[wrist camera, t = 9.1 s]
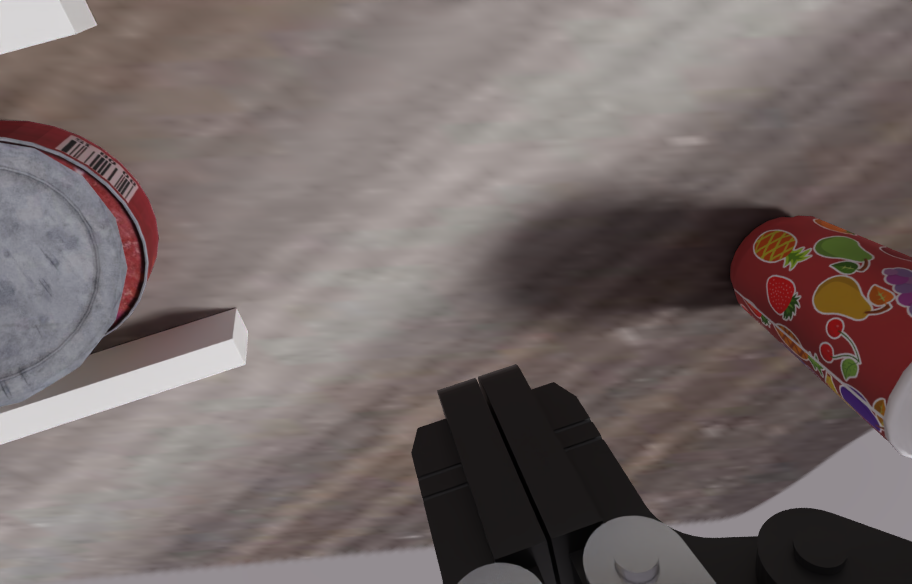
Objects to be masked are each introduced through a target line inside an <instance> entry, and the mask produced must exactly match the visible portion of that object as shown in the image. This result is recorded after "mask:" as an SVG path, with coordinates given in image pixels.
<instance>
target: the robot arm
mask: <svg viewBox="0 0 912 584" xmlns="http://www.w3.org/2000/svg"><path fill="white" fill-rule="evenodd" d="M478 381H479V384H478V382H477V380H476V378H474V379H471V380H468V381H464V382H461V383H458V384H455V385H452V386H449V387H446V388H443V389H440V390H437V392H438V395H439V399H440V402H441V405H442V408H443V412H444V415H445V418H446V419H443V420H440V421H437V422H434V423H432V424H429V425H426V426H423V427H420V428H418V429H417V433H416V437H415V441H414V445H413V449H412V452H411V453H412V457H413V462H414V466H415V470H416V474H417V478H418V481H419V486H420V490H421V494H422V498H423V501H424V506H425V510H426V514H427V518H428V523H429V527H430V531H431V535H432V539H433V543H434V547H435V551H436V555H437V559H438V563H439V567H440V571H441V575H442V580H443V584H912V542H911V541H909V540H906V539H902V538H900V537H897V536H895V535H892V534H889V533H886V532H883V531H881V530H878V529H875V528H872V527H869V526H866V525H864V524H861V523H858V522H855V521H852V520H850V519H847V518H844V517H841V516H839V515H836V514H833V513H830V512H826V511H823V510H818V509H812V508H795V509H789V510H785V511H782V512H779V513H777V514H775V515H774V516H772V517H771V518H769V519H768V520H767V521H766V522H765V523H764V524H763V526H762V528H761V529H760V531H759V535H758V536H757V537H729V538H703V537H696V536H691V535H688V534H684V533H681V532H679V531H677V530H674V529H672V528H670V527H669V526H667V525H665V524H664V523H662V522H661V521H660V520H658V519H657V518H656V517H655V516H654V515H653V514H652V513H651V512H650V511H649V509H648V508H647V507H646V505H645V504H644V502H643V501H642V499H641V497H640V496H639V494H638V493H637V491H636V490H635V488H634V486H633V485H632V483H631V482H630V480H629V479H628V477H627V475H626V474H625V472H624V471H623V469H622V468H621V466H620V464H619V463H618V461H617V460H616V458H615V457H614V455H613V453H612V452H611V450H610V449H609V447H608V446H607V444H606V442H605V441H604V440H602V437H601V435H600V433H599V431H598V430H597V428H596V427H595V425H594V424H593V422H591V420H590V417H589V416H588V414H587V413H586V411H585V409H584V408H583V406H582V405H581V403H580V402H579V400H578V398H577V397H576V396H575V395H573V394H571V393H570V392H568V391H567V390H565V389H564V388H562V387H561V386H559V385H557V384H556V383H554V382H553V383H550V384H547V385H544V386H541V387H538V388H535V389H532V390H531V388H530V387H529V385H528V383H527V381H526V379H525V377H524V376H523V374H522V372H521V370H520V368H519V367H518V365H516V364H515V365H512V366H509V367H506V368H503V369H500V370H497V371H494V372H491V373H488V374H485V375H482V376H479V377H478ZM479 385H480V386H479Z"/></svg>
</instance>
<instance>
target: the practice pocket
mask: <svg viewBox="0 0 912 584" xmlns="http://www.w3.org/2000/svg"><path fill="white" fill-rule="evenodd" d="M96 25H97V24H96V21H95V19H94V17H93V15H92V13H91V11H90V9H89V7H88V5H87V3H86V1H85V0H0V54H4V53H7V52H11V51H15V50H19V49H22V48H26V47H30V46H33V45H37V44H41V43H44V42H48V41H52V40H55V39H59V38H63V37H67V36H70V35H74V34H77V33H80V32H82V31H84V30H87V29H89V28H92V27H94V26H96ZM247 343H248V331H247V329H246V327H245V324H244V322H243V320H242V318H241V316H240V314H239V312H238V310H237V308H235V309H232V310H229V311H225V312H222V313H219V314H216V315H213V316H210V317H207V318H203V319H200V320H197V321H194V322H191V323H188V324H185V325H181V326H178V327H175V328H172V329H169V330H166V331H163V332H159V333H156V334H153V335H150V336H147V337H144V338H140V339H137V340H134V341H131V342H128V343H125V344H122V345H118V346H115V347H112V348H109V349H106V350H103V351H100V352H96V353H93V354H90V355H89V356H88V357H87V358H86V359H85V361H84V362H83V363H82V365H81V366H80V367H79V368H77V369H76V370H74V371H72V372H71V373H69V374H68V375H66V376H64V377H63V378H61V379H59V380H58V381H56V382H55V383H53V384H51V385H50V386H48V387H46V388H45V389H43V390H41V391H40V392H38V393H36V394H34V395H33V396H31V397H29V398H28V399H26V400H24V401H22V402H20V403H15V404H11V405H6V406H2V407H0V445H1V444H4V443H7V442H10V441H13V440H16V439H19V438H22V437H25V436H28V435H31V434H34V433H38V432H41V431H44V430H47V429H50V428H53V427H56V426H59V425H62V424H65V423H68V422H71V421H74V420H77V419H80V418H83V417H86V416H90V415H93V414H96V413H99V412H102V411H105V410H108V409H111V408H114V407H117V406H120V405H123V404H126V403H129V402H132V401H135V400H139V399H142V398H145V397H148V396H151V395H154V394H157V393H160V392H163V391H166V390H169V389H172V388H175V387H178V386H181V385H184V384H187V383H191V382H194V381H197V380H200V379H203V378H206V377H209V376H212V375H215V374H218V373H221V372H224V371H227V370H230V369H233V368H236V367H240V366H243V365H246V354H247Z"/></svg>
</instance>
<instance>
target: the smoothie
mask: <svg viewBox="0 0 912 584" xmlns="http://www.w3.org/2000/svg"><path fill="white" fill-rule="evenodd" d="M730 279H731V282H732V285H733V288H734V291H735V294H736V297H737V301H738V303H739V304H740V305H741V306H742V307H743V308H744V309H745V310H746V311H747V312H748V313H749V314H750V315H751V316H752V317H753V318H754V319H756V320H757V321H758V322H759V323H760V324H761V325H762V326H763V327H764V328H765V329H766V330H767V331H769V332H770V333H771V334H772V335H773V336H774V337H775V338H776V339H777V340H778V341H779V342H781V343H782V344H783V345H784V346H785V347H786V348H787V349H788V350H789V351H790V352H791V353H793V354H794V355H795V356H796V357H797V358H798V359H799V360H800V361H801V362H802V363H803V364H804V365H806V366H807V367H808V368H809V369H810V370H811V371H812V372H813V373H814V374H815V375H816V376H818V377H819V378H820V379H821V380H822V381H823V382H824V383H825V384H826V385H827V386H828V387H830V388H831V389H832V390H833V391H834V392H835V393H836V394H837V395H838V396H839V397H840V398H842V399H843V400H844V401H845V402H846V403H847V404H848V405H849V406H850V407H851V408H852V409H853V410H855V411H856V412H857V413H858V414H859V415H860V416H861V417H862V418H863V419H864V420H865V421H867V422H868V423H869V424H870V425H871V426H872V427H873V428H874V429H875V430H876V431H878V432H879V433H880V434H881V435H882V436H883V437H884V438H885V439H886V440H888V441H889V442H890V444H891V445H892V446H893V447H894V448H895V450H896V451H897V452H898V453H899V454H900V455H902V456H905V457H908V458H911V459H912V257H909V256H907V255H905V254H902V253H900V252H897V251H895V250H892V249H890V248H888V247H885V246H883V245H880V244H878V243H875V242H873V241H871V240H868V239H866V238H863V237H861V236H859V235H856V234H854V233H851V232H849V231H846V230H844V229H842V228H839V227H837V226H834V225H832V224H829V223H827V222H825V221H822V220H820V219H817V218H815V217H813V216H795V217H779V218H776V219H773V220H769V221H767V222H765V223H764V224H762V225H760V226H758V227H757V228H755V229H754V230H753V231H752V232H751V233H750V234H749V235H748V236H747V237H746V238H745V239H744V240H743V241H742V243H741V244H740V246H739V247H738V249H737V250H736V252H735V255H734V257H733V260H732V263H731V270H730Z"/></svg>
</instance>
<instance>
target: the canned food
mask: <svg viewBox="0 0 912 584" xmlns="http://www.w3.org/2000/svg"><path fill="white" fill-rule="evenodd" d="M158 241H159V235H158V228H157V221H156V217H155V214H154V212H153V209H152V206H151V204H150V201H149V199H148V197H147V196H146V194H145V192H144V191H143V189H142V188H141V186H140V184H139V183H138V181H137V180H136V179H135V178H134V177H133V176H132V174H131V173H130V172H129V171H128V170H127V169H126V168H125V167H124V166H123V164H122V163H120V162H119V161H118V160H116V159H115V158H114V157H113V156H111V155H110V154H109V153H108V152H106V151H105V150H104V149H103V148H101V147H99V146H97V145H96V144H94V143H92V142H90V141H88V140H87V139H85V138H83V137H81V136H79V135H77V134H74V133H71V132H69V131H66V130H63V129H60V128H58V127H55V126H50V125H45V124H40V123H35V122H30V121H6V120H2V121H0V407H2V406H6V405H11V404H15V403H20V402H22V401H24V400H26V399H28V398H29V397H31V396H33V395H34V394H36V393H38V392H40V391H41V390H43V389H45V388H46V387H48V386H50V385H51V384H53V383H55V382H56V381H58V380H59V379H61V378H63V377H64V376H66V375H68V374H69V373H71V372H72V371H74V370H76V369H77V368H79V367H80V366H81V365H82V363H83V362H84V361H85V359H86V358H87V357H88V356H89V354H90V353H91V352H92V351H93V349H94V348H95V347H96V345H97V344H98V343H99V342H100V340H101V339H102V338H103V337H105V336H106V335H108V334H109V333H111V332H113V331H114V330H116V329H117V328H118V327H119V326H120V325H121V324H122V323H123V322H124V321H125V320H126V319H127V318H128V317H129V316H130V315H131V314H132V312H133V311H134V309H135V308H136V306H137V305H138V303H139V302H140V300H141V298H142V295H143V292H144V289H145V286H146V283H147V281H148V278H149V276H150V274H151V272H152V269H153V266H154V263H155V261H156V258H157V252H158Z"/></svg>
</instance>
